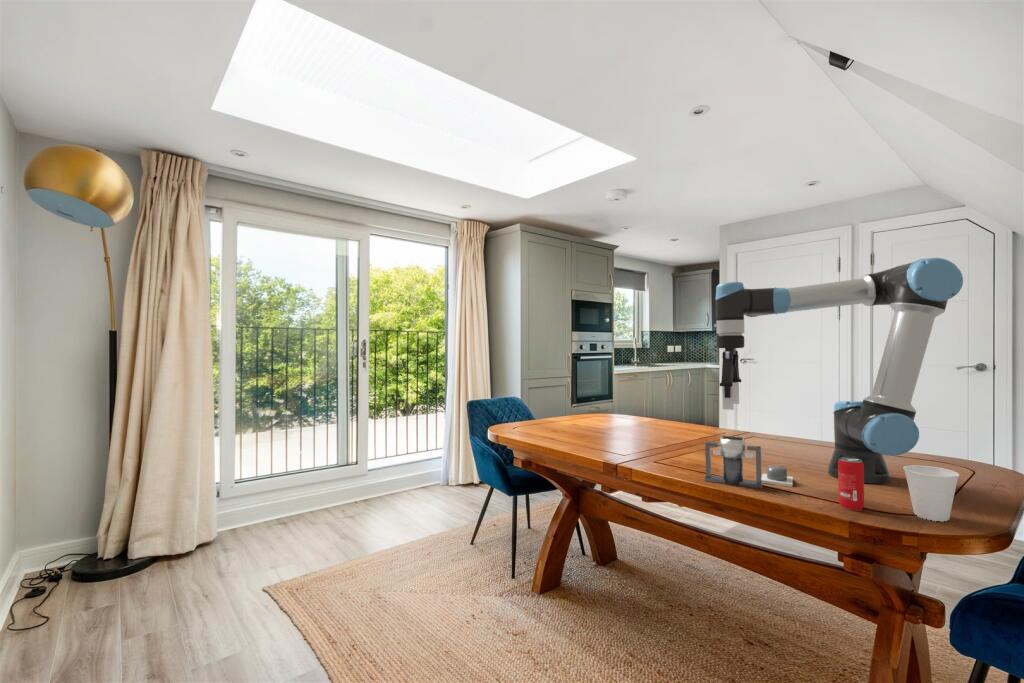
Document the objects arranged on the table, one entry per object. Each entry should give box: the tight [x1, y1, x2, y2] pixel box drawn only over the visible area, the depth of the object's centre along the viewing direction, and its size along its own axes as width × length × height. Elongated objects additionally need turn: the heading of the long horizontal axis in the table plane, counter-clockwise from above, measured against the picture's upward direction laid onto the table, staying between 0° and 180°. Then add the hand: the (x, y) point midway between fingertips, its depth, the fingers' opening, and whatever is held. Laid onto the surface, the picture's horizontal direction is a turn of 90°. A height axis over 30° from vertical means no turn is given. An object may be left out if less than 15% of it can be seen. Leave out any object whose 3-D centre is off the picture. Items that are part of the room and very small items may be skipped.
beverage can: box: [837, 457, 865, 512], centre depth 117 cm, size 5×5×12 cm
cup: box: [902, 464, 960, 523], centre depth 110 cm, size 10×10×11 cm
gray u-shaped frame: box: [704, 441, 764, 489], centre depth 138 cm, size 15×5×11 cm, turn 58°
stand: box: [762, 465, 794, 488], centre depth 139 cm, size 8×8×4 cm
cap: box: [712, 435, 754, 459], centre depth 138 cm, size 11×7×6 cm, turn 58°
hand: (731, 406), depth 139 cm, fingers open, 13 cm apart
